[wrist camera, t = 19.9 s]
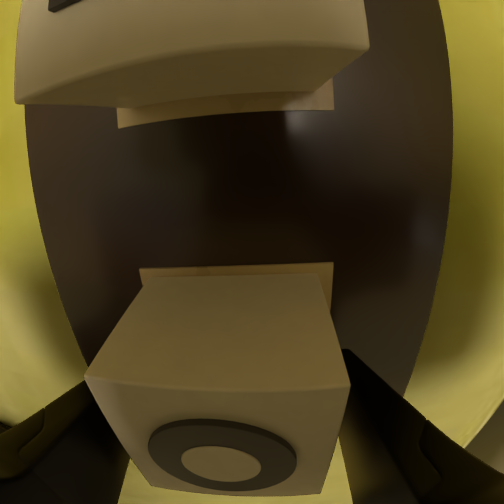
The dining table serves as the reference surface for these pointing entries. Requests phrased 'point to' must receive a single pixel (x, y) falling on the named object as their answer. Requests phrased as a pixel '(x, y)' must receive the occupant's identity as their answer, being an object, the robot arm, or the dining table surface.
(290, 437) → the tile
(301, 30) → the tile
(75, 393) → the robot arm
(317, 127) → the word board
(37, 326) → the dining table surface
